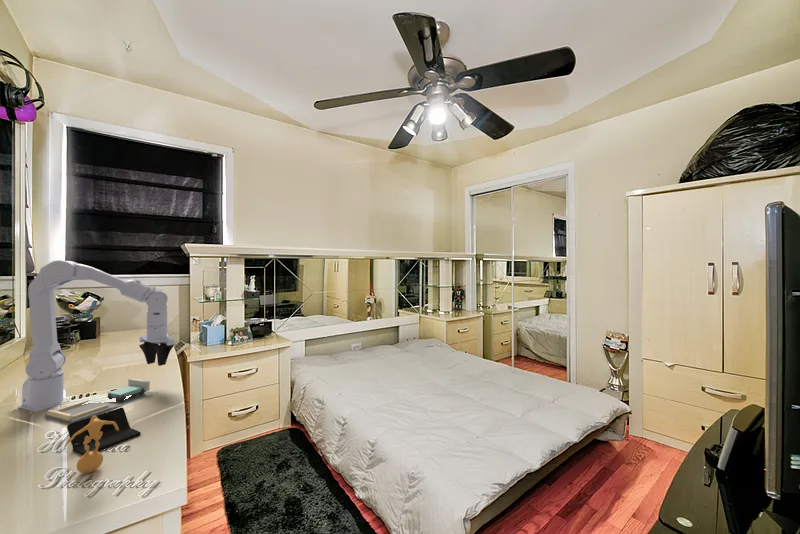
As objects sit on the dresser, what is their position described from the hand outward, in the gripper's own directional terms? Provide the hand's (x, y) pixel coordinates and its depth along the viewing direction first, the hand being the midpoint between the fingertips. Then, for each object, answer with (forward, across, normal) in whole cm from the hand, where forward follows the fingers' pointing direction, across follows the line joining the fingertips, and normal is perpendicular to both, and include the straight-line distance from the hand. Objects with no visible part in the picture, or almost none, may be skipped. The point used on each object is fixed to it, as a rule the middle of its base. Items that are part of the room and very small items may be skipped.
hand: (156, 364), depth 113 cm
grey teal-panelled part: (+8, 0, +9) cm, 12 cm away
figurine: (+9, -36, +37) cm, 52 cm away
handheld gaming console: (+9, -23, +28) cm, 38 cm away
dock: (+8, 0, +15) cm, 17 cm away
